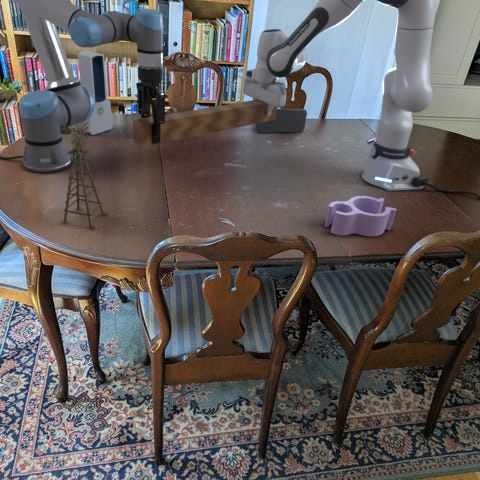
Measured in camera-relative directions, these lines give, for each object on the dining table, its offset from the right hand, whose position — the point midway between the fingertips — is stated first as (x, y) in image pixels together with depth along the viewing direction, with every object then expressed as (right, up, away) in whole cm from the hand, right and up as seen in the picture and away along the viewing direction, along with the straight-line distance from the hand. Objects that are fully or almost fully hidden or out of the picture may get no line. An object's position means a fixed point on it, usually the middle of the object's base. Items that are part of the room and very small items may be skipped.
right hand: (262, 112), depth 181 cm
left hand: (-38, -17, -28) cm, 50 cm away
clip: (+27, -45, -38) cm, 65 cm away
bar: (-19, -10, -13) cm, 25 cm away
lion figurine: (-42, -2, +17) cm, 46 cm away
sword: (+60, -2, +34) cm, 69 cm away
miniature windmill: (-53, -43, -48) cm, 84 cm away
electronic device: (-67, -5, +9) cm, 68 cm away
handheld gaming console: (+9, -1, +28) cm, 29 cm away
